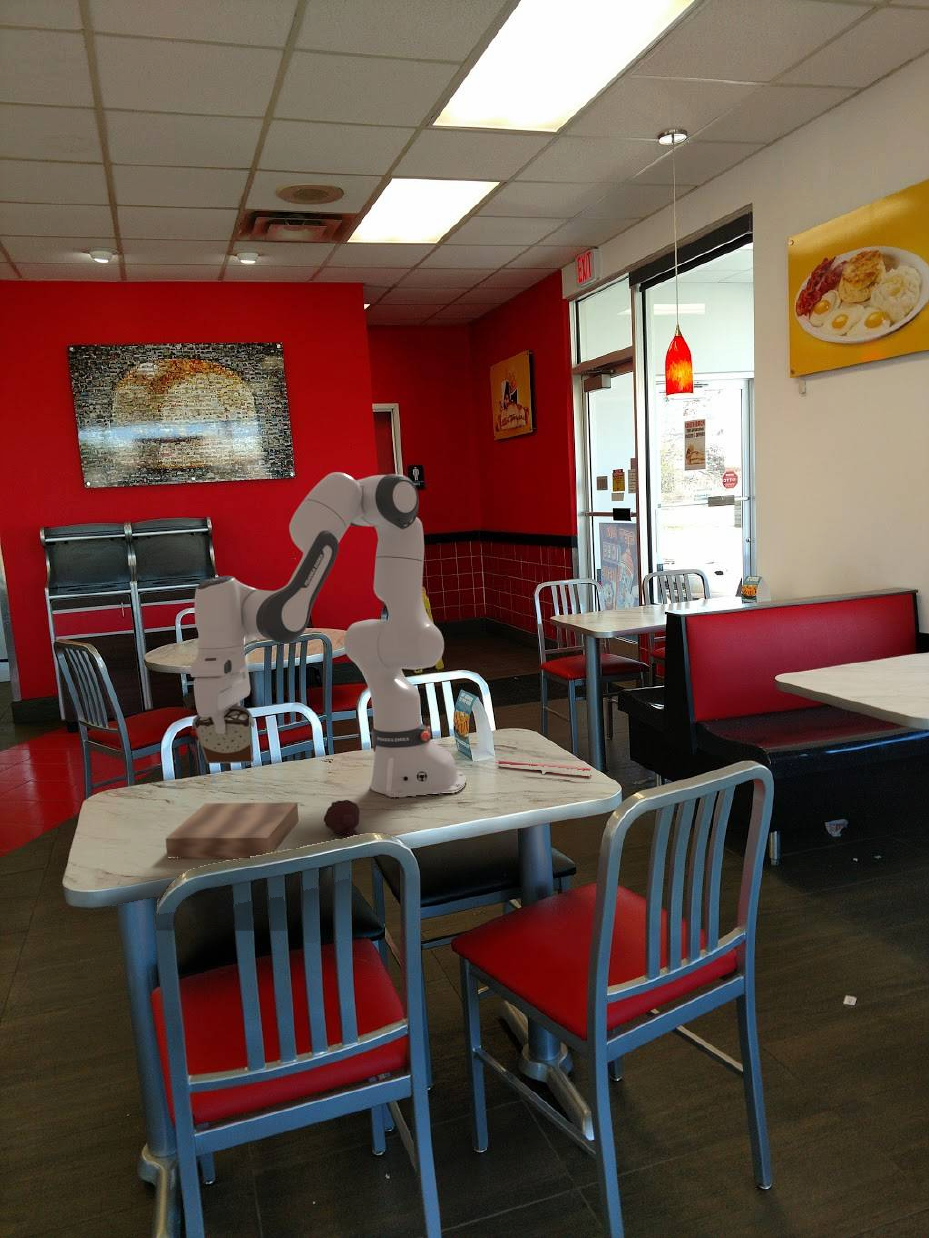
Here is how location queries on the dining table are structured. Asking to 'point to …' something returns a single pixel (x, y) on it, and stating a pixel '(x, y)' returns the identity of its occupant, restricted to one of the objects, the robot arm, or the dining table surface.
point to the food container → (227, 737)
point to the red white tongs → (539, 765)
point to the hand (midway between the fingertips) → (227, 728)
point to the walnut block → (233, 830)
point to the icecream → (342, 817)
